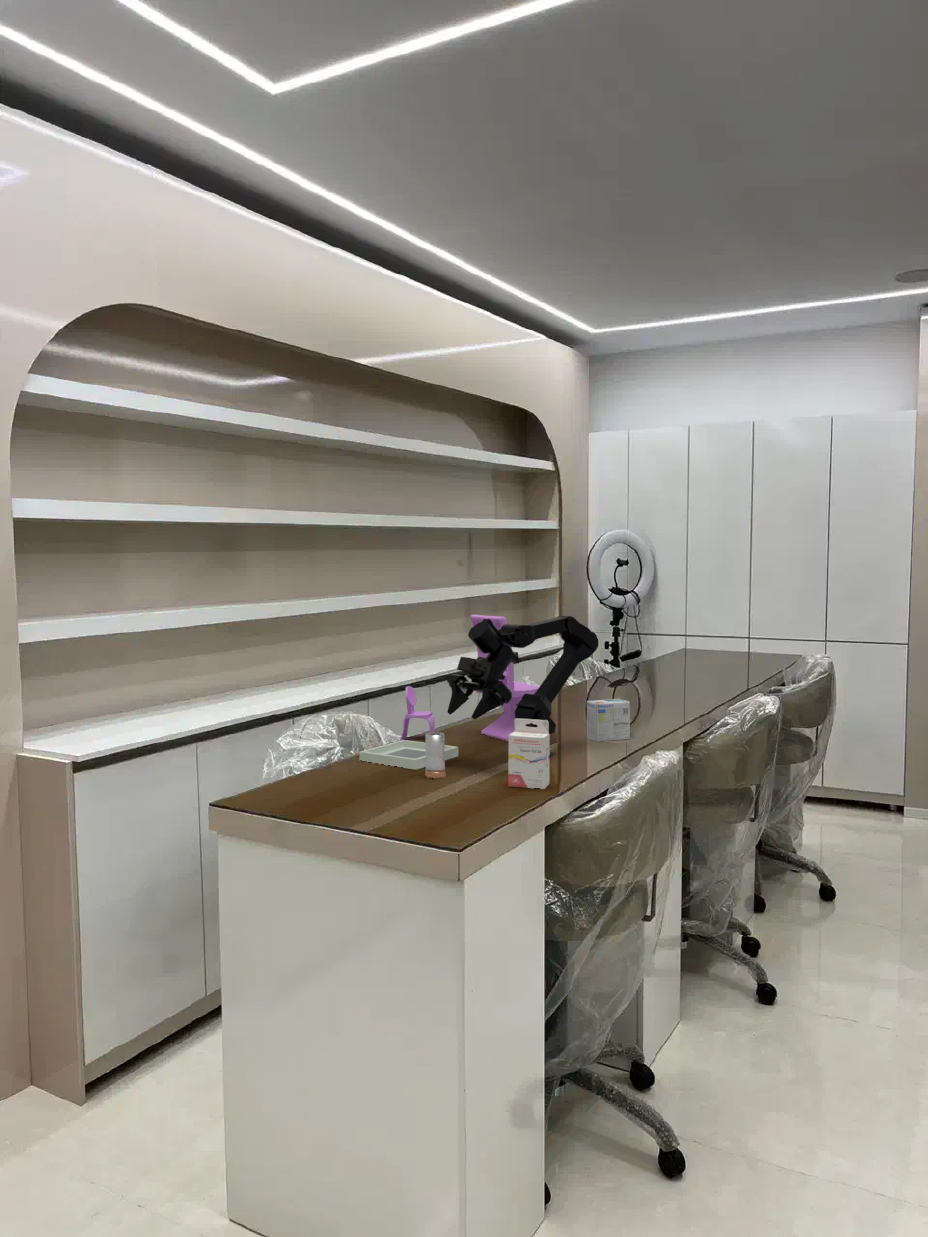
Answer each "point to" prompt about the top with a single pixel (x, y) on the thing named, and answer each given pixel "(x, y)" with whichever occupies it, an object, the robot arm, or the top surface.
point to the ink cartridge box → (529, 754)
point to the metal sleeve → (435, 756)
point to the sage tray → (403, 754)
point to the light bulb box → (608, 720)
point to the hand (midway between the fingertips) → (460, 715)
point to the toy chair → (415, 712)
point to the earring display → (506, 721)
